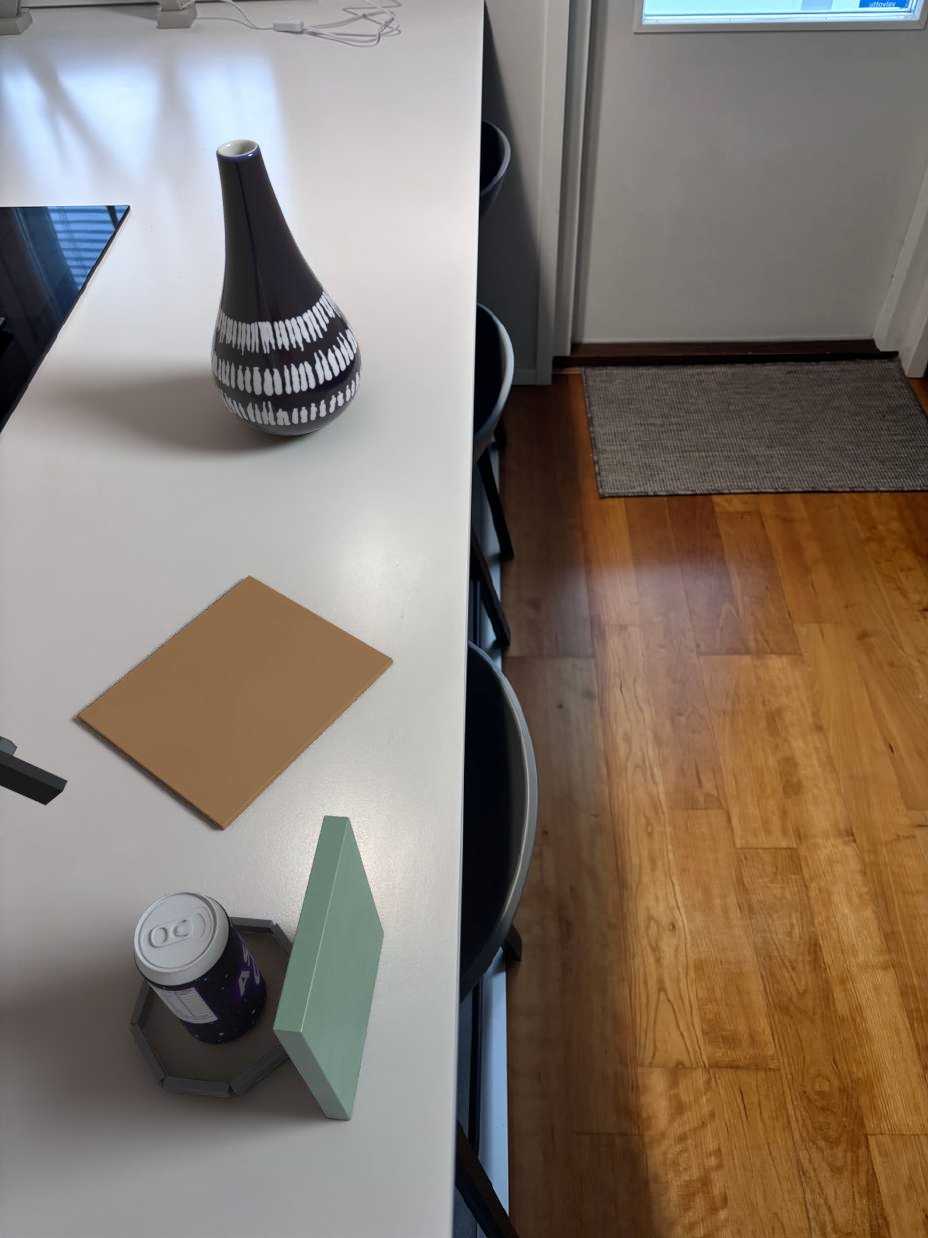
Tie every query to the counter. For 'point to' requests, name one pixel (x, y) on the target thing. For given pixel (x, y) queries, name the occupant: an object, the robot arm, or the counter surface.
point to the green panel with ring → (310, 982)
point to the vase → (275, 314)
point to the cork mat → (235, 698)
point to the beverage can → (200, 966)
